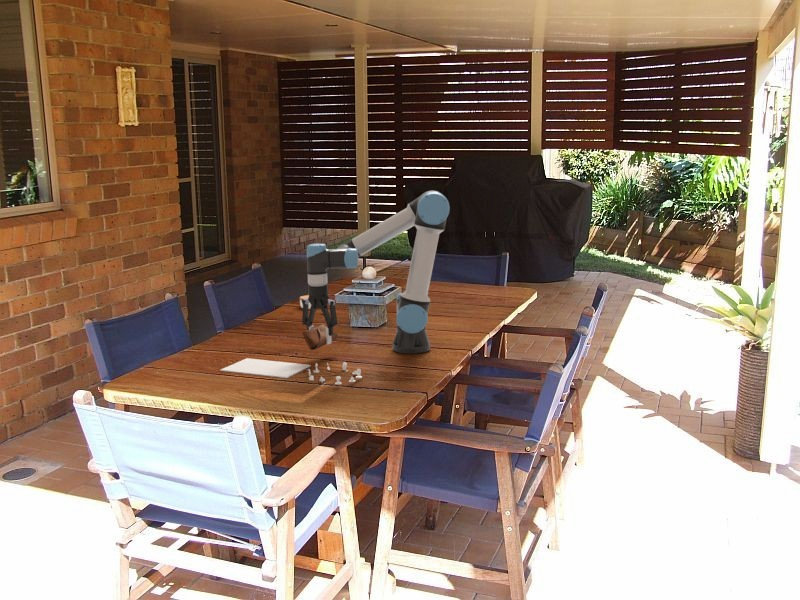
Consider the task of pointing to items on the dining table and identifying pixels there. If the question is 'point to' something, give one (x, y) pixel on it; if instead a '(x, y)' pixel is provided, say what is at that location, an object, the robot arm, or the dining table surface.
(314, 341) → the sunglasses case
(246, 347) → the dining table surface
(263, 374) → the rubber mat
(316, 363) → the game piece set
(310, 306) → the lidded jar
